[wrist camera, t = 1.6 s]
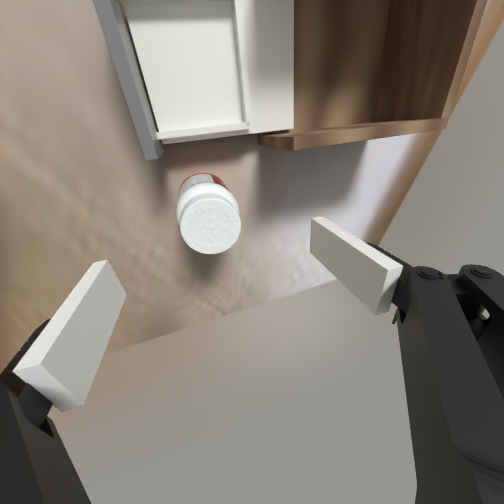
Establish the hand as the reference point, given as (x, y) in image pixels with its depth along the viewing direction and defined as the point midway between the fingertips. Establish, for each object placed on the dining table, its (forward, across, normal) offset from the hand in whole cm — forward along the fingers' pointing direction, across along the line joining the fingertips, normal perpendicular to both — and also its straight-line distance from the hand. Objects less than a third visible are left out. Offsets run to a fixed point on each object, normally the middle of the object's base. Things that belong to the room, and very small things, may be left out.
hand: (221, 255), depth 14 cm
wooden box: (+16, +16, +12) cm, 25 cm away
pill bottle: (+16, 0, 0) cm, 16 cm away
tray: (+15, +3, +12) cm, 20 cm away
